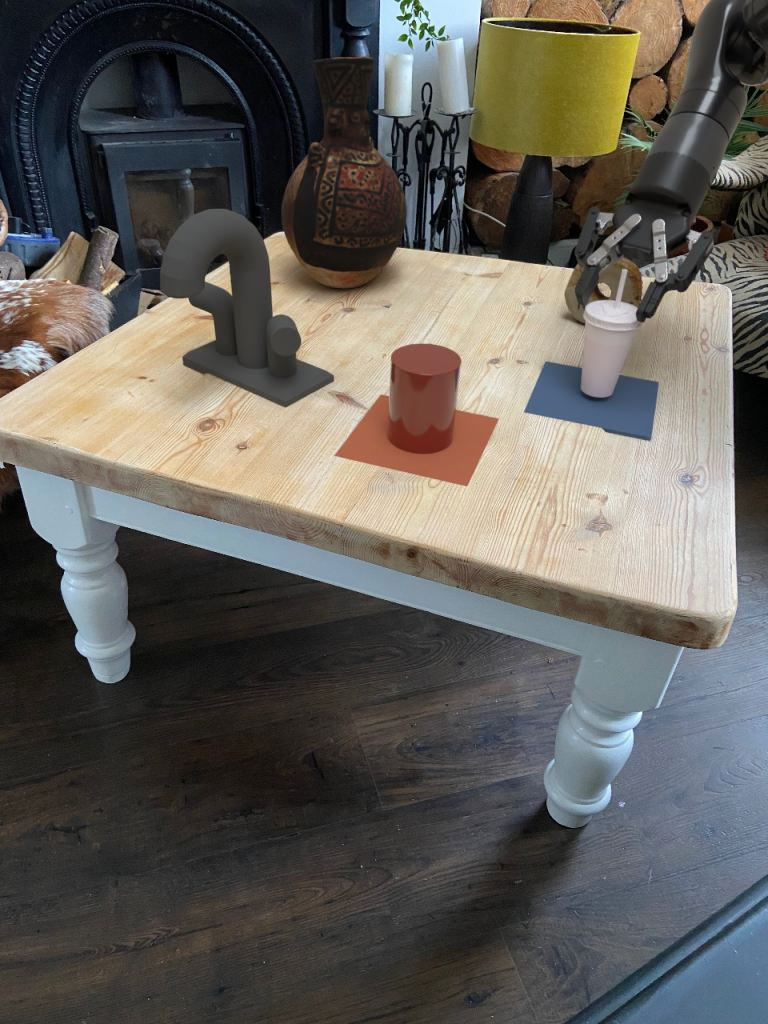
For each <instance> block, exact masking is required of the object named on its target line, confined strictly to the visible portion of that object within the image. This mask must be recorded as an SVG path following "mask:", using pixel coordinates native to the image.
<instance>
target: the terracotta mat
mask: <svg viewBox="0 0 768 1024" xmlns="http://www.w3.org/2000/svg"><path fill="white" fill-rule="evenodd" d="M388 411H389V395H386V394H381V393H380V395H379V396H378V397H377V399H376V400H375V401H374V403H373V404H372V405H371V407H370V408H369V409H368V411H366V413H365V415H364V416H363V417H362V419H361V420H360V421H359V422H358V423H357V425H356V426H355V427H354V428H353V430H352V432H351V433H350V434H349V435H348V437H347V438H345V440H344V442H343V443H342V444H341V446H340V447H339V448H338V450H337V451H336V452H335V453H334V454H333V456H334V457H337V458H342V459H345V460H350V461H355V462H359V463H364V464H368V465H372V466H375V467H381V468H385V469H389V470H394V471H398V472H403V473H407V474H411V475H416V476H420V477H424V478H429V479H432V480H436V481H442V482H444V483H445V482H446V483H450V484H454V485H459V486H463V487H468V486H469V483H470V481H471V480H472V478H473V476H474V473H475V472H476V469H477V467H478V465H479V463H480V460H481V459H482V456H483V454H484V452H485V450H486V447H487V446H488V443H489V441H490V440H491V437H492V435H493V432H494V430H495V428H496V426H497V424H498V422H499V419H500V418H499V417H493V416H488V415H483V414H479V413H474V412H469V411H465V410H459V409H456V416H455V426H454V435H453V441H452V443H451V445H450V446H449V447H447V448H446V449H444V450H442V451H439V452H436V453H430V454H417V453H410V452H407V451H404V450H401V449H399V448H397V447H395V446H394V445H393V444H392V443H391V442H390V441H389V439H388Z"/></svg>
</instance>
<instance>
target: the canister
mask: <svg viewBox="0 0 768 1024" xmlns="http://www.w3.org/2000/svg"><path fill="white" fill-rule="evenodd" d="M389 368H390V370H389V389H388V391H389V393H388V396H389V411H388V439H389V441H390V442H391V443H392V444H393V445H394V446H395V447H397V448H399V449H401V450H404V451H407V452H410V453H417V454H430V453H436V452H439V451H442V450H444V449H446V448H447V447H449V446H450V445H451V443H452V441H453V435H454V426H455V416H456V410H457V407H458V399H459V398H458V396H459V388H460V378H461V369H462V358H461V356H460V355H459V354H458V353H457V352H456V351H454V350H453V349H451V348H449V347H447V346H443V345H438V344H434V343H410V344H406V345H403V346H399V347H398V348H396V349H394V351H393V352H392V353H391V355H390V367H389Z"/></svg>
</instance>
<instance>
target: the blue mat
mask: <svg viewBox="0 0 768 1024" xmlns="http://www.w3.org/2000/svg"><path fill="white" fill-rule="evenodd" d="M581 377H582V367H580V366H573V365H569V364H563V363H557V362H552V361H548V360H547V361H544V364H543V365H542V368H541V370H540V373H539V375H538V377H537V380H536V382H535V384H534V387H533V390H532V392H531V394H530V396H529V399H528V401H527V404H526V406H525V407H524V410H523V413H525V414H529V415H530V414H531V415H535V416H540V417H544V418H550V419H554V420H559V421H565V422H569V423H574V424H580V425H584V426H589V427H595V428H600V429H602V430H603V431H604V432H606V433H610V434H617V435H619V436H620V435H621V436H624V437H625V436H627V437H631V438H635V439H641V440H646V441H652V436H653V429H654V419H655V413H656V407H657V399H658V392H659V384H660V382H659V381H655V380H650V379H645V378H639V377H635V376H628V375H623V374H620V375H619V378H618V380H617V383H616V386H615V388H614V391H613V393H612V395H610V396H608V397H593V396H590V395H587V394H585V393H584V392H583V391H582V390H581Z"/></svg>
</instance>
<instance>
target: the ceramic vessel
mask: <svg viewBox="0 0 768 1024" xmlns="http://www.w3.org/2000/svg"><path fill="white" fill-rule="evenodd" d="M374 64H375V59H374V58H373V57H370V56H359V57H351V56H348V57H345V56H343V57H342V56H340V57H339V56H338V57H332V58H322V59H316V60H313V61H312V68H313V72H314V76H315V79H316V82H317V84H318V89H319V94H320V99H321V104H322V111H323V137H322V139H321V141H319V142H312V143H311V144H310V146H309V147H308V150H307V154H306V155H305V157H303V159H302V160H301V162H300V163H299V164H298V165H297V166H296V168H295V169H294V171H293V172H292V174H291V175H290V177H289V179H288V182H287V184H286V187H285V191H284V193H283V197H282V201H281V209H280V211H281V213H280V214H281V215H280V216H281V225H282V231H283V233H284V236H285V238H286V241H287V244H288V246H289V248H290V249H291V251H292V253H293V254H294V256H295V258H296V259H297V261H298V263H299V264H300V265H301V266H302V268H303V269H304V270H305V271H306V273H308V275H310V277H311V278H313V280H315V281H316V282H318V283H320V284H322V285H324V286H326V287H329V288H334V289H353V288H358V287H360V286H363V285H365V284H367V283H368V282H370V281H371V280H373V279H374V278H375V277H376V276H377V275H378V274H379V273H380V272H381V271H383V269H384V268H385V266H386V265H387V264H388V263H389V261H390V260H391V258H392V257H393V256H394V253H395V252H396V250H397V249H398V248H399V244H400V242H401V240H402V238H403V235H404V232H405V230H406V225H407V218H408V217H407V216H408V206H407V200H406V199H407V198H406V194H405V192H404V189H403V185H402V184H401V181H400V180H399V178H398V175H397V174H396V171H394V169H393V167H392V166H391V164H390V163H389V162H388V160H386V158H385V157H384V156H382V154H381V153H380V152H379V151H378V150H377V149H376V148H375V143H374V140H373V138H372V137H371V132H370V125H369V123H370V121H371V116H370V114H369V112H368V108H367V107H368V101H369V94H370V89H371V84H372V83H371V82H372V77H373V72H374V66H375V65H374Z"/></svg>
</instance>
